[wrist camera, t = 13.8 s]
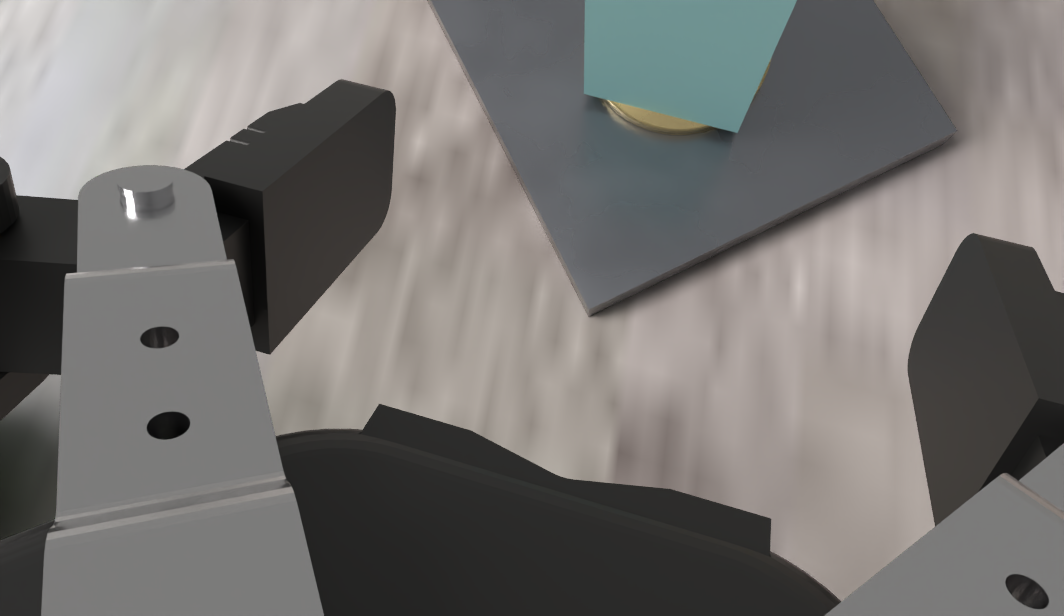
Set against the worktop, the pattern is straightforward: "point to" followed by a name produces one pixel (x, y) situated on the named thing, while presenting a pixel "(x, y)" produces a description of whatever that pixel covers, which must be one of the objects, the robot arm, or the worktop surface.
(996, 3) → the worktop surface
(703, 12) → the teal open-top bin
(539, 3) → the shaft stand
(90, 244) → the robot arm
